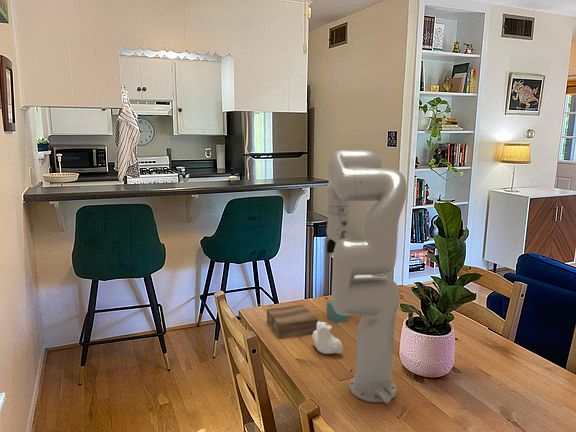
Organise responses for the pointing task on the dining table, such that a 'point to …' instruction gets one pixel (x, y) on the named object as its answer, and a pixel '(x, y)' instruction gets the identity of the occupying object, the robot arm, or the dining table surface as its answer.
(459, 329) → the dining table surface
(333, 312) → the teal cube
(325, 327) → the bust
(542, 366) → the dining table surface
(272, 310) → the walnut block
